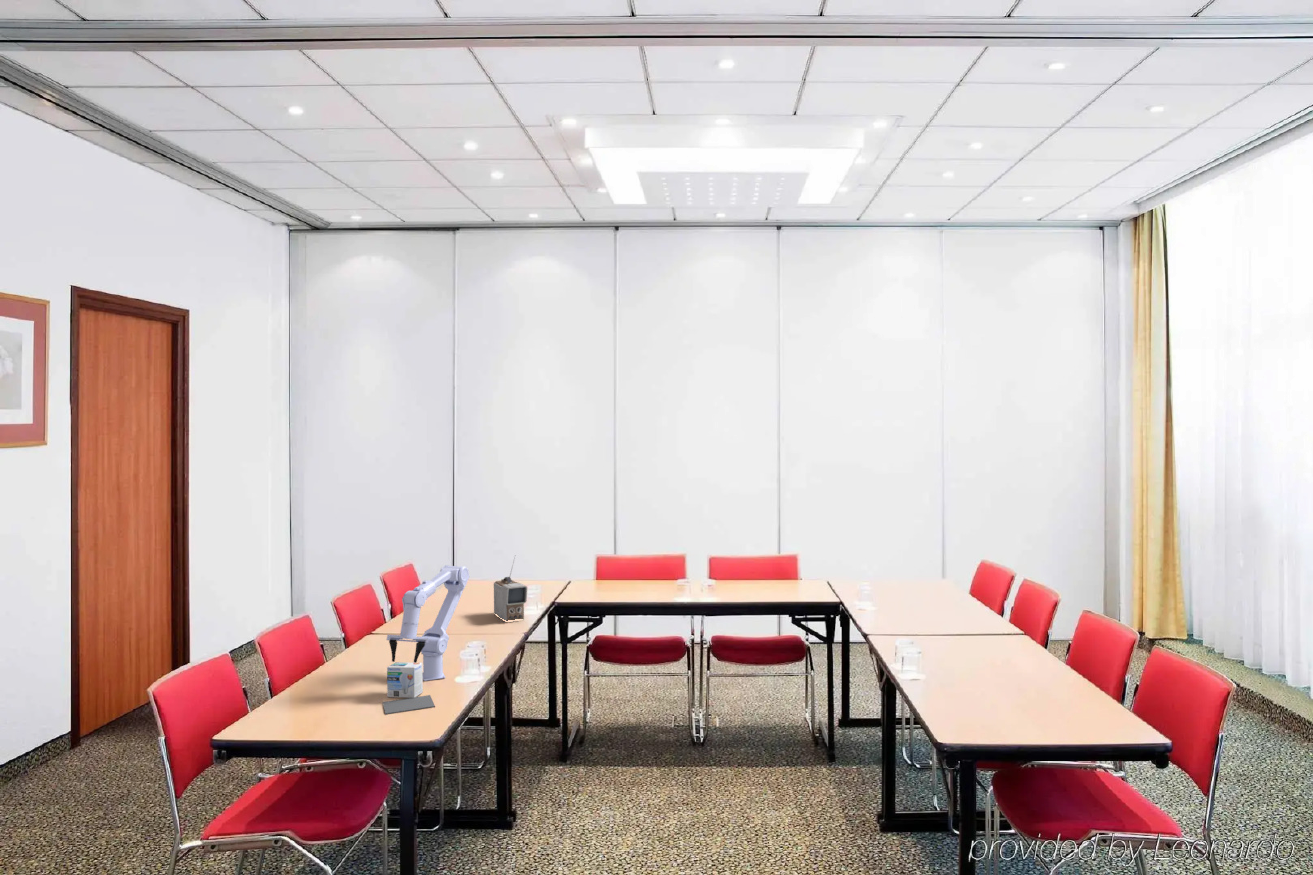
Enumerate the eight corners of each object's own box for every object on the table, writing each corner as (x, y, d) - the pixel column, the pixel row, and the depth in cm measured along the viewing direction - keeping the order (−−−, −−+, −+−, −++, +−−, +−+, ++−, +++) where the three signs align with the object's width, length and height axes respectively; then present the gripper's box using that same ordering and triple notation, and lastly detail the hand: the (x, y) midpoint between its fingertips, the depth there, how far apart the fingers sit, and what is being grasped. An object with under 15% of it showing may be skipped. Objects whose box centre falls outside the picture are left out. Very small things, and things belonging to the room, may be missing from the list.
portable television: (507, 624, 374) (506, 563, 374) (492, 614, 395) (492, 556, 395) (530, 621, 380) (530, 561, 379) (515, 611, 401) (514, 554, 400)
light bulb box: (386, 697, 273) (386, 666, 273) (395, 691, 280) (395, 661, 280) (415, 698, 272) (414, 667, 272) (423, 692, 278) (423, 662, 279)
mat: (382, 703, 268) (382, 701, 268) (430, 696, 275) (430, 695, 275) (385, 714, 257) (385, 713, 257) (434, 707, 264) (434, 706, 264)
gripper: (390, 622, 278) (384, 661, 274) (431, 625, 283) (426, 664, 280) (388, 622, 284) (382, 660, 281) (428, 625, 290) (423, 662, 286)
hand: (404, 662), depth 281 cm, fingers open, 7 cm apart
